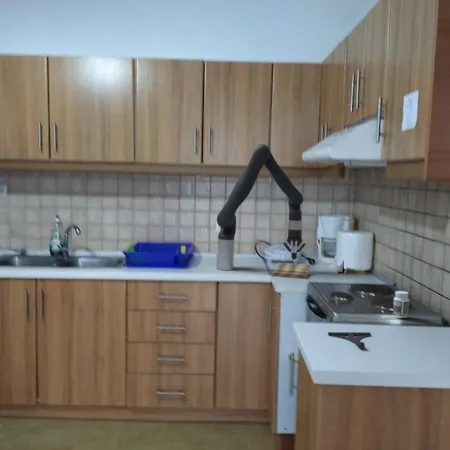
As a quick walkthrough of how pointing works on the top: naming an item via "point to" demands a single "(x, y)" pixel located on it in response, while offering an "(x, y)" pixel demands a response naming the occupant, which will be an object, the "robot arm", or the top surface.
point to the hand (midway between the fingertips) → (294, 259)
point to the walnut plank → (290, 274)
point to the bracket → (352, 337)
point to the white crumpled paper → (337, 268)
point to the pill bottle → (401, 303)
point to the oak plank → (292, 267)
